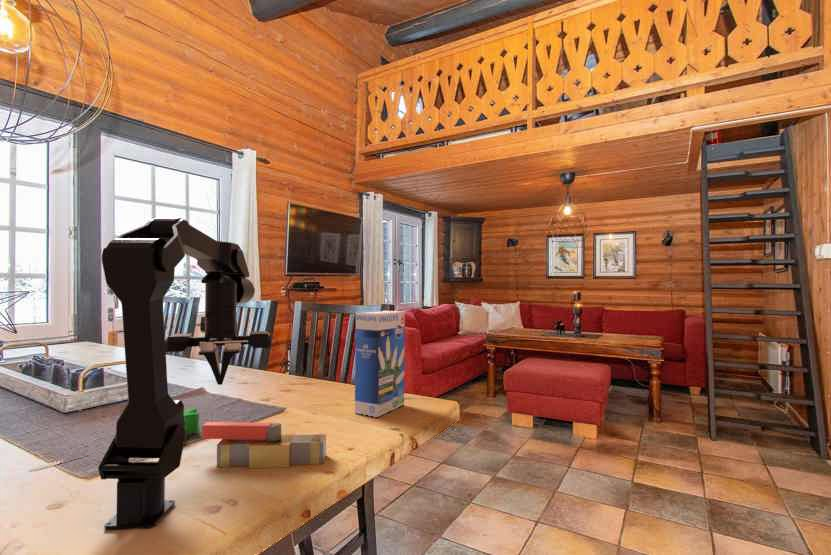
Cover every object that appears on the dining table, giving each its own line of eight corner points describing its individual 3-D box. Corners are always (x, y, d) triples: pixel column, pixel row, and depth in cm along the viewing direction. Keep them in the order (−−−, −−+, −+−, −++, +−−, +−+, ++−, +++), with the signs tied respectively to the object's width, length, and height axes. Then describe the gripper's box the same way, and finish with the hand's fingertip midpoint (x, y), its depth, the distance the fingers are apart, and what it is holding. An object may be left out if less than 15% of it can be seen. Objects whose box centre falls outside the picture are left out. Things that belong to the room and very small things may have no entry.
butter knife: (25, 466, 76) (30, 470, 74) (182, 427, 98) (188, 429, 96) (25, 470, 76) (30, 473, 74) (182, 430, 98) (188, 432, 96)
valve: (322, 466, 78) (322, 444, 78) (214, 469, 76) (214, 446, 76) (326, 453, 84) (326, 432, 84) (226, 455, 82) (226, 434, 82)
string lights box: (377, 418, 105) (378, 313, 105) (352, 413, 109) (353, 312, 109) (405, 405, 116) (406, 310, 116) (382, 401, 120) (383, 309, 120)
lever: (283, 435, 81) (283, 422, 81) (278, 441, 78) (278, 427, 79) (208, 434, 81) (208, 421, 81) (200, 440, 79) (200, 426, 79)
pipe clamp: (173, 448, 86) (173, 425, 86) (156, 447, 87) (156, 424, 87) (207, 428, 97) (207, 408, 97) (191, 427, 98) (191, 407, 98)
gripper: (269, 303, 96) (269, 372, 96) (175, 304, 89) (175, 378, 89) (270, 306, 85) (269, 384, 85) (164, 307, 79) (163, 391, 79)
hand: (220, 384), depth 85 cm, fingers closed
